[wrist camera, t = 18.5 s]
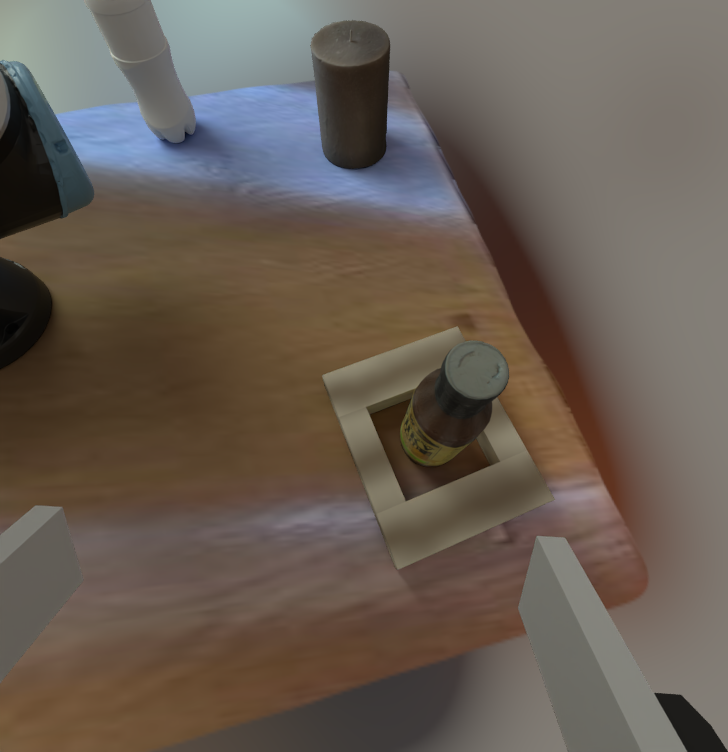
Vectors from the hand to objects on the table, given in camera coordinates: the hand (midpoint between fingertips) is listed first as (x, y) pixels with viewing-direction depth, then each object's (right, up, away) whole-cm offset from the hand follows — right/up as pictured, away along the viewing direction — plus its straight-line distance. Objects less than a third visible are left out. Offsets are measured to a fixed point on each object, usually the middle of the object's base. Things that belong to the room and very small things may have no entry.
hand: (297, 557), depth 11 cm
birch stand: (+9, -2, +32) cm, 33 cm away
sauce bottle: (+9, -2, +32) cm, 33 cm away
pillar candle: (0, +40, +50) cm, 63 cm away
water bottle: (-27, +43, +51) cm, 71 cm away
